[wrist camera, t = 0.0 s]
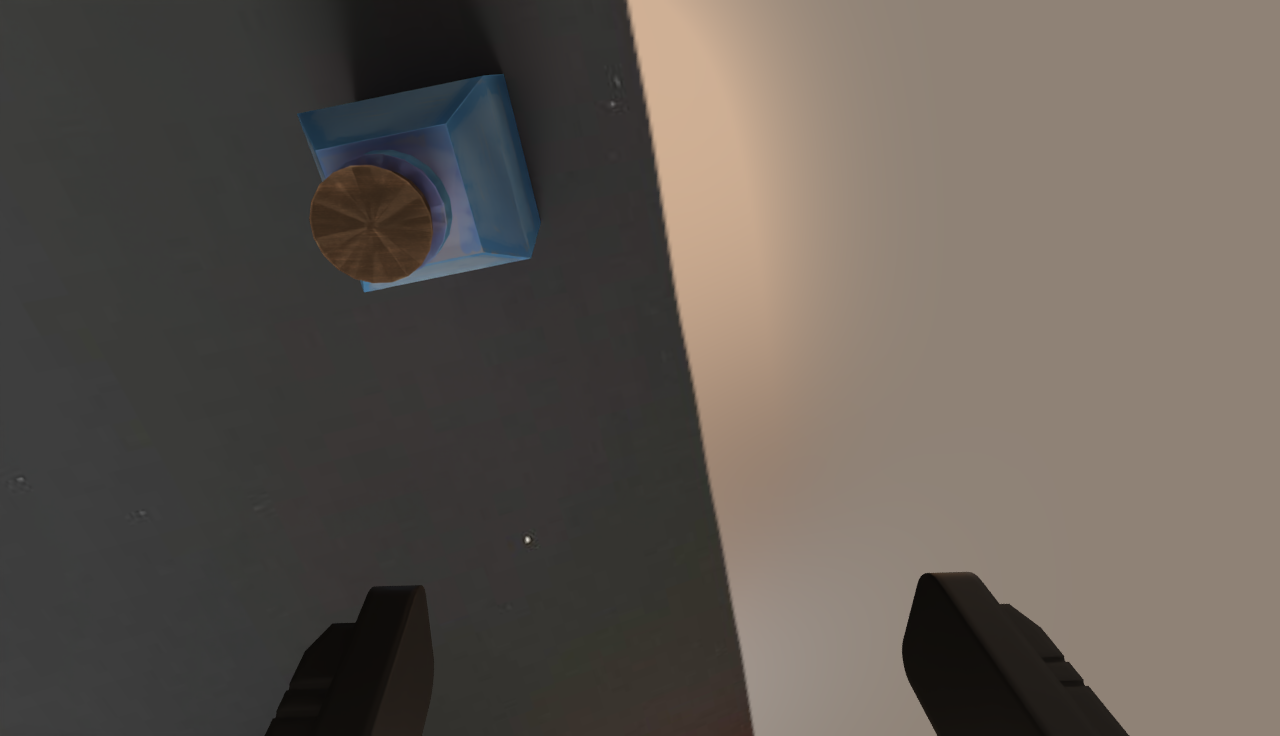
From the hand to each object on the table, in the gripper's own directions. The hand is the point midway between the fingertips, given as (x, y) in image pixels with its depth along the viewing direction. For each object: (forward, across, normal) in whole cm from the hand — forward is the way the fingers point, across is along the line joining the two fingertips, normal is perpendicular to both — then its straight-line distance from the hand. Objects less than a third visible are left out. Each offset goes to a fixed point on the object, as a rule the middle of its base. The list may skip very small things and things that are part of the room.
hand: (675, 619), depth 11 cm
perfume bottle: (+22, +7, -4) cm, 24 cm away
